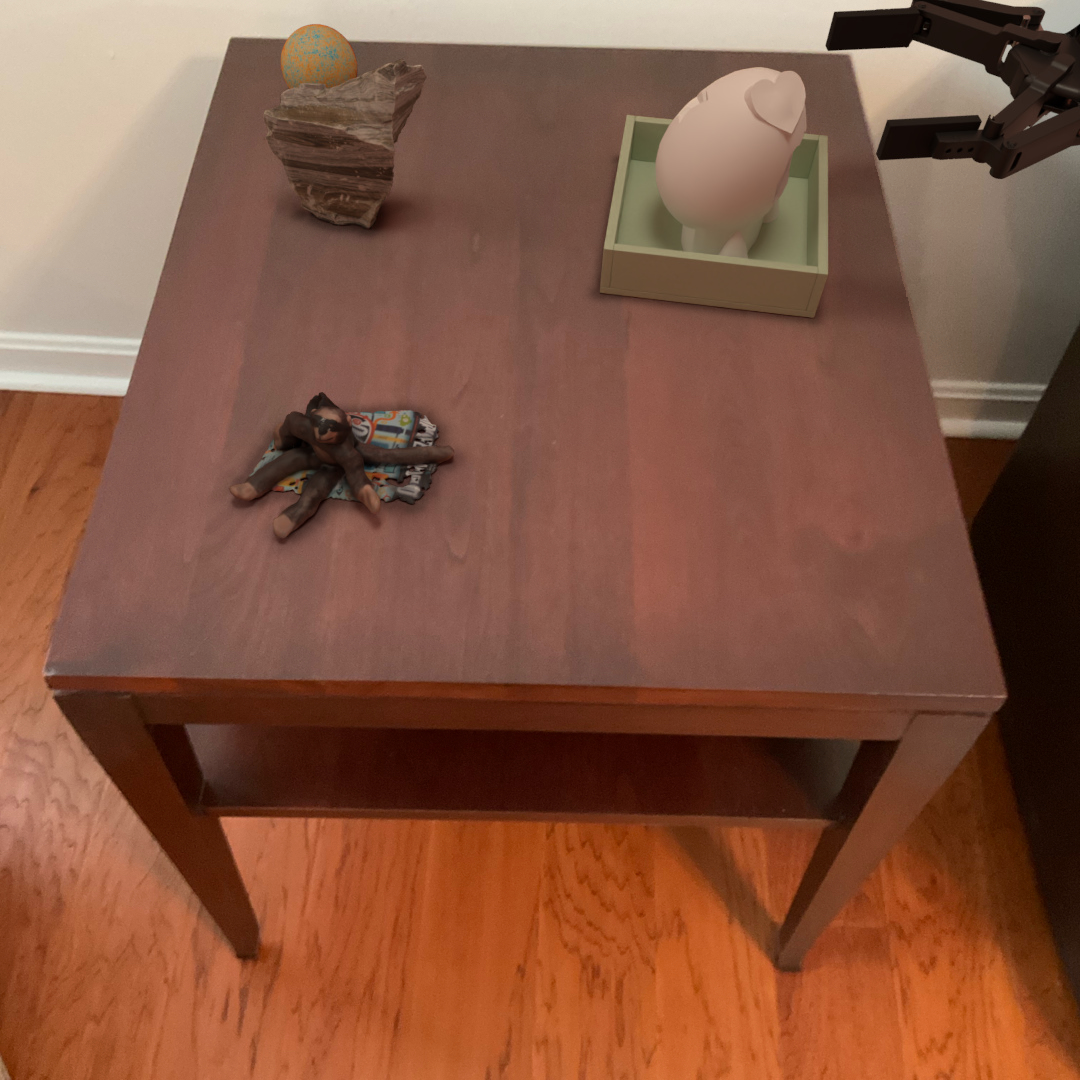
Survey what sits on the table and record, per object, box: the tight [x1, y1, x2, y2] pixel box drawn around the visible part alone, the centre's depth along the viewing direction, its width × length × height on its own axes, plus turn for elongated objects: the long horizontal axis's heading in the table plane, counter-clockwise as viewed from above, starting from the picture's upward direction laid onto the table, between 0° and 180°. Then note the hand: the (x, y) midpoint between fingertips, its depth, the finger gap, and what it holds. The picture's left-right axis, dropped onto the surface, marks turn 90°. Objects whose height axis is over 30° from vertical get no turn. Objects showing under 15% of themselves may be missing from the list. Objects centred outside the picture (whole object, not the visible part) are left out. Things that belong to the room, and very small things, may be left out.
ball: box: [280, 23, 358, 89], centre depth 96 cm, size 7×7×7 cm
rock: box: [263, 58, 427, 230], centre depth 84 cm, size 13×6×15 cm, turn 72°
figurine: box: [656, 66, 808, 259], centre depth 82 cm, size 11×11×15 cm
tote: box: [599, 114, 829, 319], centre depth 87 cm, size 18×18×5 cm
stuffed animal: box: [228, 391, 455, 539], centre depth 74 cm, size 12×10×12 cm
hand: (855, 83), depth 75 cm, fingers open, 13 cm apart
